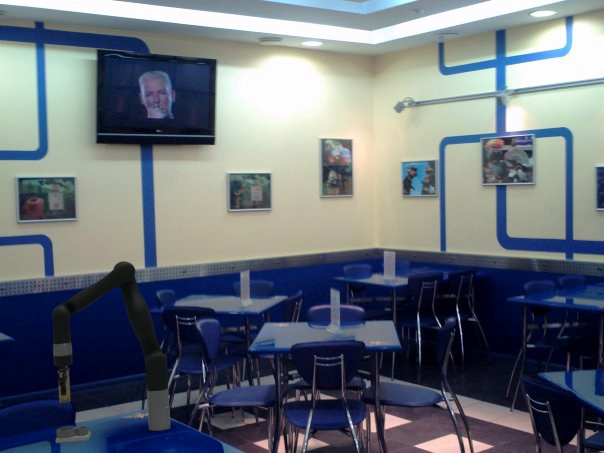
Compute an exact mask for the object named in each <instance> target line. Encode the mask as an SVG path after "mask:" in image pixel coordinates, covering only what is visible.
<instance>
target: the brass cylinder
mask: <svg viewBox="0 0 604 453" xmlns="http://www.w3.org/2000/svg"><path fill="white" fill-rule="evenodd" d="M57 380H58V379H57ZM58 382H59V380H58ZM61 383H64V381H61ZM70 388H71V387H70V376H69V377H68V380H67V381H66V395H64V396H61V388H60V386H59V385H58V398H59V404H67V403H71V389H70Z"/></svg>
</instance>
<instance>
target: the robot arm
mask: <svg viewBox="0 0 604 453" xmlns="http://www.w3.org/2000/svg"><path fill="white" fill-rule="evenodd" d="M118 287H119V289H120V291H121V294H122V298H123V302H124V307H125V310H126V314H127V317H128V320H129V323H130V325H131V328H132V330H133V332H134V335H135V336H136V338H137V340H138V342H139V343H140V346H141V350H142V353H143V359H144V364H145V375H146V376H145V378H146V399H147V403H146V404H147V420H148V422H147V423H148V430H149V431H153V432H155V431H158V432H161V431H166V430H170V429H171V415H170V414H171V413H170V411H171V410H170V399H169V398H170V397H169V396H170V395H169V374H168V373H169V370H168V360H167V357H166V355H165V354H164V352H163V350H162V348H161V346H160V344H159V342H158V338H157V335H156V330H155V325H154V321H153V318H152V315H151V313H150V309H149V307H148V305H147V302H146V301H145V299H144V297H143V295H142V293H141V292H140V289H139V287H138V283H137V278H136V267H135V266H134V264H133V263H131V262H128V261H124V260H123V261H119V262H117V263H116V264H115V265H114V267H113V269H112V270H111V271H110V272H109V273H107V275H105V276H104V277H103V278H101V279H99V280H98V281H96V282H94V283H93V284H91V285H89V286H87V287H85V288H84V289H82V290H81V291H79V292H78V293H76V294H75V295H73V296H72V297H71V298H69V299H67V300H66V301H64V302H62V303H61V304H59V305H57V306H56V307H55V308H54V309H53V310H52V314H51V315H52V328H53V333H52V334H53V335H52V336H53V347H52V353H53V365H54V366H55V367H59V369H58V370H57V377H58V379H57V380H59V381H58V387H59V386H60V388H61V396H64V395H66V381H67V380H68V377H69V378H70V365H72V364H74V363H73V346H72V340H71V339H72V336H71V335H72V334H71V330H70V329H71V324H70V323H71V317H72V316H74V315H75V314H76V313H79V312H81V311H83V310H85V309H86V308H88V307H89V306H91V305H92V304H94V303H95V302H97V301H98V300H99V299H101V297H103V296H105V295H106V294H107V293H109V292H111V291H112V290H114V289H116V288H118ZM68 366H69V367H68ZM61 381H64V383H61Z"/></svg>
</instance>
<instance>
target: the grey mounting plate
mask: <svg viewBox="0 0 604 453" xmlns="http://www.w3.org/2000/svg"><path fill="white" fill-rule="evenodd" d="M91 435H92V431H89V426H88V425H81V426H77V427H76V426H75V425H74V426H73V425H70V426H63V427H62V426H61V427H58V428H57V429H56V438H55V444H61V443H72V442H74V443H75V442H84V441H85V442H86V441H89V440H90V437H91Z"/></svg>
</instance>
